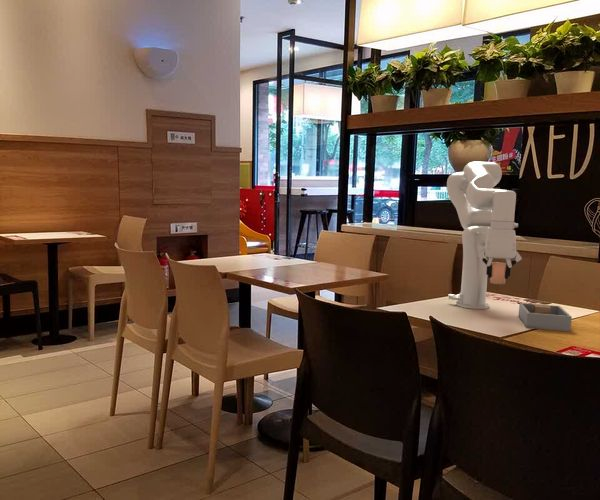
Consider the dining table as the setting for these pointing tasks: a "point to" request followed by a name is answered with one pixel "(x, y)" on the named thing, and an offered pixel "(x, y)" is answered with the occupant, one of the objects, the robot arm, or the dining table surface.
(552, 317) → the tote
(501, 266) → the terracotta cylinder
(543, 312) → the walnut cube
